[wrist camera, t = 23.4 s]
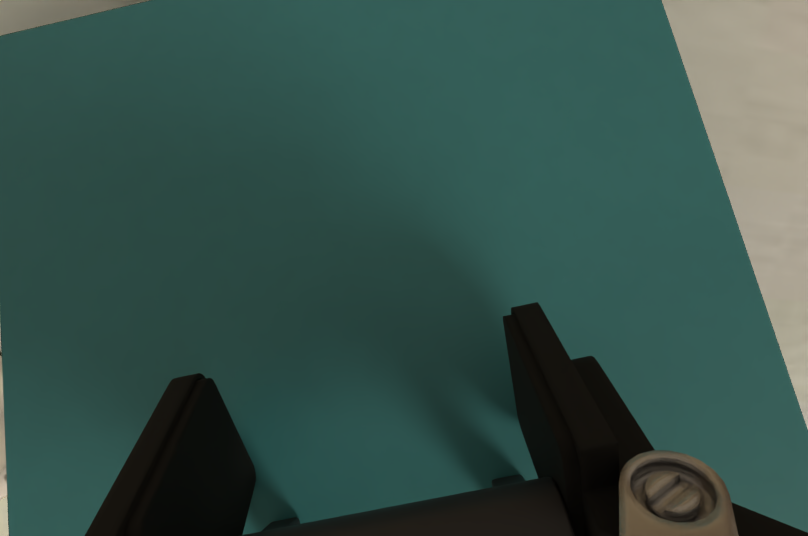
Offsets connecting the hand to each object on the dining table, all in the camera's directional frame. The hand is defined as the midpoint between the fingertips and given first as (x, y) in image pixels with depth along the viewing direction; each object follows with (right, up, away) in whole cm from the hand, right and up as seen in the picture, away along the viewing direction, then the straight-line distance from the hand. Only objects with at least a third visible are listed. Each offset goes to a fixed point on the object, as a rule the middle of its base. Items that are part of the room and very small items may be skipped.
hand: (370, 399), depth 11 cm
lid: (-1, +3, +2) cm, 4 cm away
